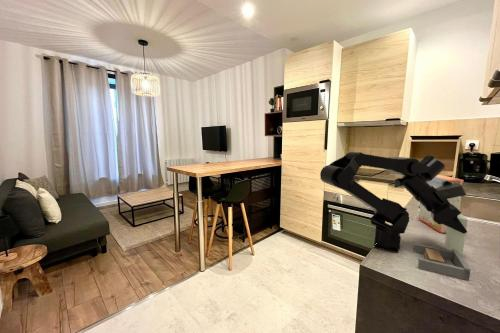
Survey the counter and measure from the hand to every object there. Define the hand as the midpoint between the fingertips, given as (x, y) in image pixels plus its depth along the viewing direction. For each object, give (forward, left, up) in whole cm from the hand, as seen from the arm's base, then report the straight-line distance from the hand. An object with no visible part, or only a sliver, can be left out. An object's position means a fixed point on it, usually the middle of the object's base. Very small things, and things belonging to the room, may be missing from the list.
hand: (462, 229), depth 64 cm
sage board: (-2, 0, -7) cm, 7 cm away
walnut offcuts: (-8, -10, -8) cm, 16 cm away
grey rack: (-6, -10, -8) cm, 14 cm away
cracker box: (-1, +24, -8) cm, 25 cm away
